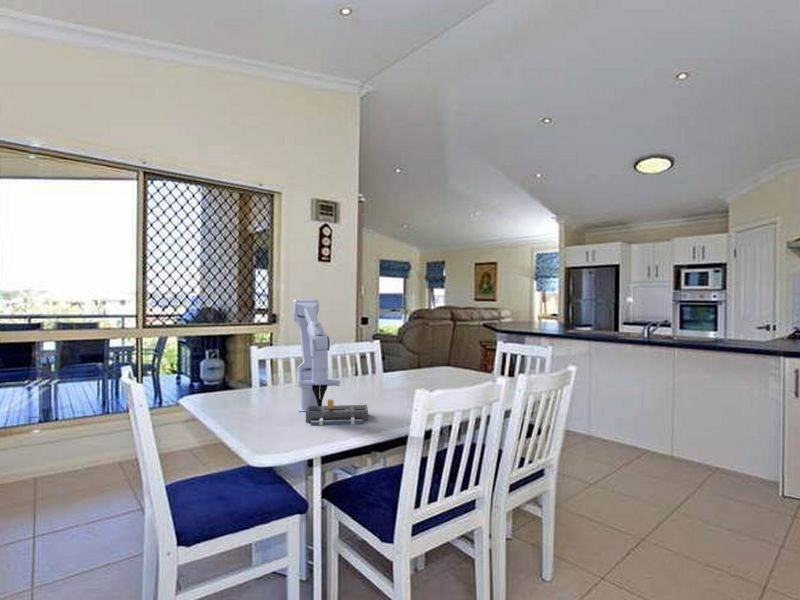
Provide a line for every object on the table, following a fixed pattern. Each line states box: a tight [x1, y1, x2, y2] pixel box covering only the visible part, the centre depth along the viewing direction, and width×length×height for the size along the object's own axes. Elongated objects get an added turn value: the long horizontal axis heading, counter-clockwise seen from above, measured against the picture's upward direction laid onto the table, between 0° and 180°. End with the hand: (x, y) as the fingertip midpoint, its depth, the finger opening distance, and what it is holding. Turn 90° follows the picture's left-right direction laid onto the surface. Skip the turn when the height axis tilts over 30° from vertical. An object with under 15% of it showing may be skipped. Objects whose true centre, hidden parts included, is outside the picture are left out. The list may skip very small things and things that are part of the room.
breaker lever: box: [327, 398, 334, 409], centre depth 173 cm, size 2×2×3 cm
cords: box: [310, 417, 364, 426], centre depth 167 cm, size 4×18×2 cm, turn 96°
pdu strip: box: [305, 404, 369, 423], centre depth 173 cm, size 9×22×4 cm, turn 96°
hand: (319, 405), depth 172 cm, fingers closed
